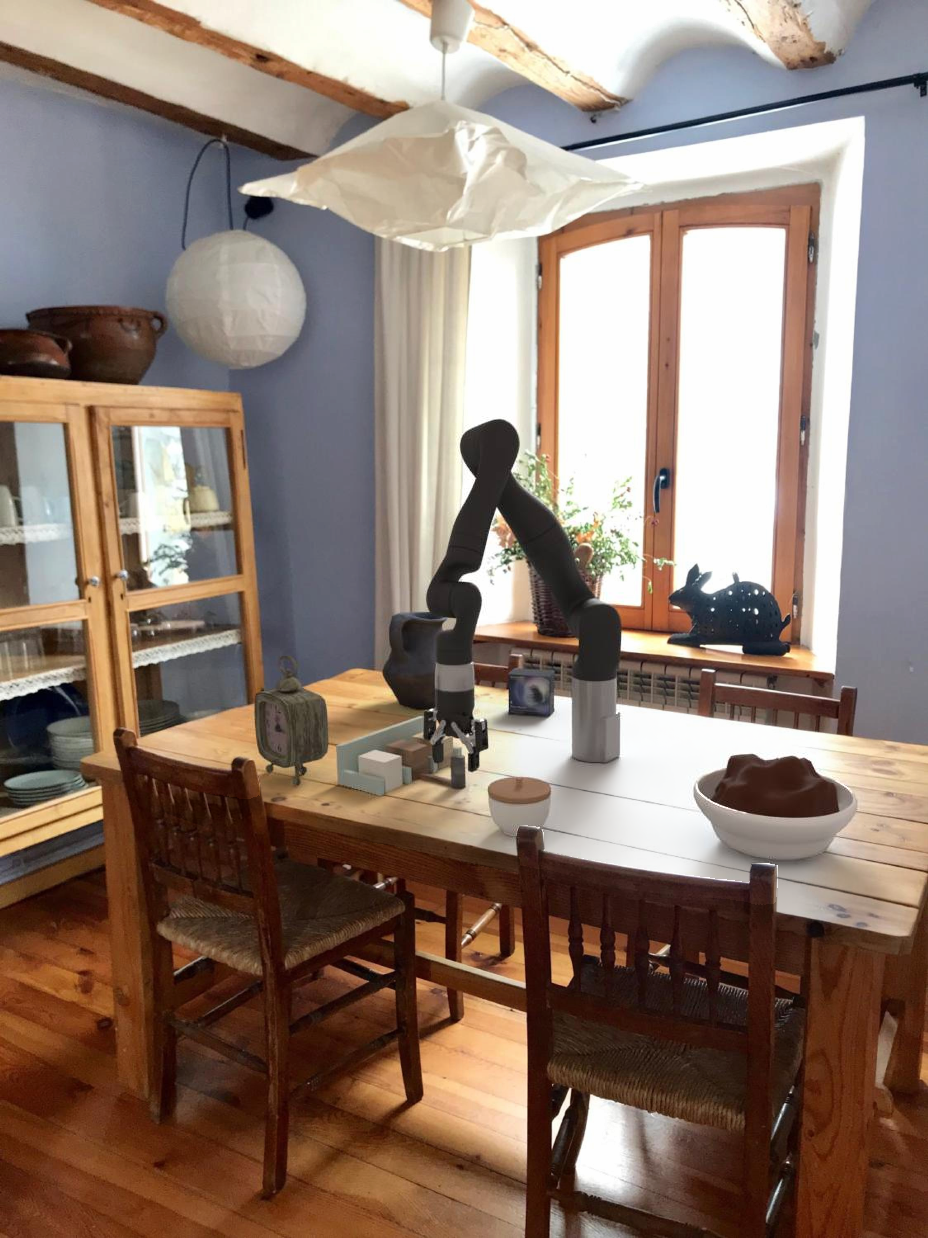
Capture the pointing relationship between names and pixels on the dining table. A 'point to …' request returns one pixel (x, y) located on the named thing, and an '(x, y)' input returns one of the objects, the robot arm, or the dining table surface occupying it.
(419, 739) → the oak block
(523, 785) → the lidded jar
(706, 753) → the dining table surface
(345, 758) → the lane shelf
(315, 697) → the tabletop clock
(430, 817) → the dining table surface
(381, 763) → the cream block
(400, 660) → the pitcher
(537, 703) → the small box
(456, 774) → the tow block
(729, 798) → the bowl of brown mass
